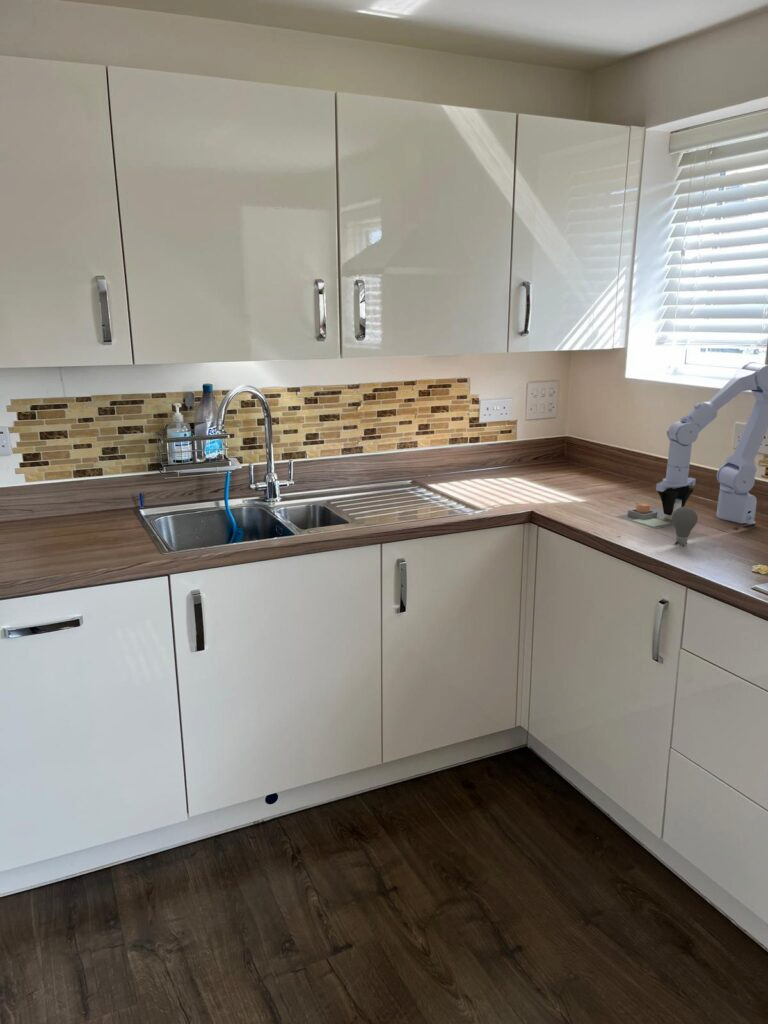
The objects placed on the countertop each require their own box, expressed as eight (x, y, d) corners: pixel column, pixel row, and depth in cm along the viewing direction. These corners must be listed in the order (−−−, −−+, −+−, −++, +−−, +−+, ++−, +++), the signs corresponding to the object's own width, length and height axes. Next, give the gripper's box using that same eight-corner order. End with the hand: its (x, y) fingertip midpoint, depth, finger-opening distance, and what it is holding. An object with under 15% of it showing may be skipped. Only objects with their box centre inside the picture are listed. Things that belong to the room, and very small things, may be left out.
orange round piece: (651, 515, 213) (653, 505, 213) (643, 517, 212) (644, 507, 211) (641, 512, 216) (642, 502, 216) (633, 514, 214) (634, 504, 214)
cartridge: (678, 522, 211) (681, 501, 210) (663, 520, 213) (666, 500, 211) (680, 519, 215) (682, 498, 213) (665, 517, 216) (667, 497, 215)
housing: (696, 524, 212) (697, 514, 211) (656, 533, 203) (657, 523, 202) (654, 512, 223) (655, 503, 222) (614, 520, 214) (615, 511, 213)
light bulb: (688, 541, 196) (692, 503, 194) (698, 548, 190) (703, 510, 188) (665, 541, 196) (669, 503, 193) (674, 548, 190) (679, 510, 188)
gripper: (682, 460, 217) (677, 506, 220) (649, 465, 209) (644, 513, 213) (704, 464, 211) (698, 512, 214) (670, 470, 203) (665, 519, 207)
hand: (672, 513), depth 213 cm, fingers closed on cartridge, 4 cm apart
